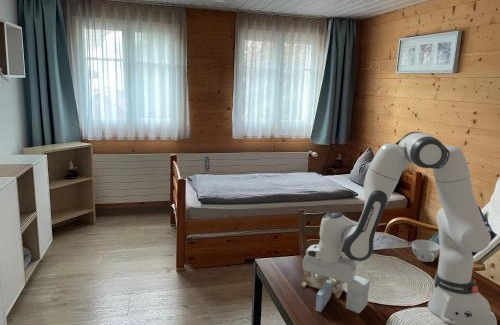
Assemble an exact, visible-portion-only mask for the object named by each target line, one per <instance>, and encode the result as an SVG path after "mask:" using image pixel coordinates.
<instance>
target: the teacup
mask: <svg viewBox="0 0 500 325" xmlns="http://www.w3.org/2000/svg"><path fill="white" fill-rule="evenodd" d="M411 248H412V249H411V250H412V252H413V254H414V256H415V257H416V259H417V260H419V261H420V262H422V263H429V262H434V261H435V259H436V258H437V257H438V256H439V255H440V246H439V244H438V243H436V242H435V241H431V240H428V239H415V240H413V241H411Z"/></svg>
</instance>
